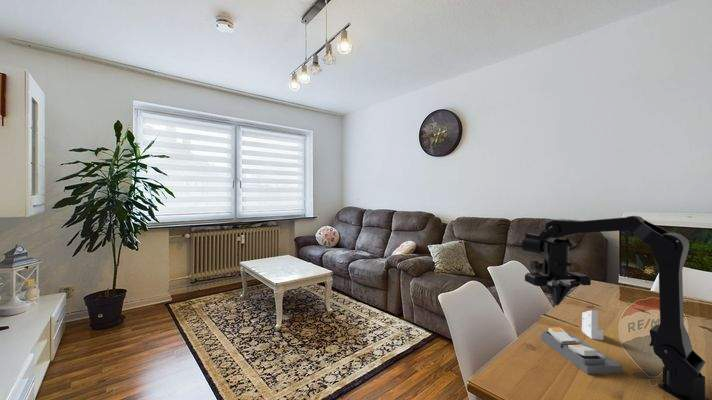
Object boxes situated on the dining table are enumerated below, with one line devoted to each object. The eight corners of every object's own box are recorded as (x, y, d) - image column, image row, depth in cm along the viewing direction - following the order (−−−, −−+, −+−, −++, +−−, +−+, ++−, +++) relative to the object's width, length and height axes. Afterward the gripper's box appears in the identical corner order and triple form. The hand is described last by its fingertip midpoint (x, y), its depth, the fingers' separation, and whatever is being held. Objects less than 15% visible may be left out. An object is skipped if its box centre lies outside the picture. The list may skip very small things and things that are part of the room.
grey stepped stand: (621, 372, 81) (622, 361, 81) (587, 373, 81) (587, 362, 81) (569, 338, 100) (569, 329, 100) (540, 339, 100) (540, 330, 100)
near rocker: (598, 355, 83) (597, 349, 83) (584, 356, 83) (583, 350, 83) (581, 349, 89) (580, 344, 89) (568, 350, 88) (567, 344, 89)
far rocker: (573, 344, 92) (574, 340, 91) (561, 344, 92) (561, 340, 91) (559, 331, 98) (560, 327, 97) (548, 331, 97) (548, 327, 97)
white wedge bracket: (599, 337, 96) (591, 309, 100) (584, 339, 104) (577, 314, 108) (612, 338, 95) (603, 310, 99) (595, 340, 103) (588, 314, 108)
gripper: (566, 252, 104) (564, 295, 104) (515, 252, 103) (514, 296, 104) (593, 259, 93) (591, 307, 93) (536, 260, 92) (535, 308, 92)
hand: (556, 304), depth 96 cm, fingers closed
